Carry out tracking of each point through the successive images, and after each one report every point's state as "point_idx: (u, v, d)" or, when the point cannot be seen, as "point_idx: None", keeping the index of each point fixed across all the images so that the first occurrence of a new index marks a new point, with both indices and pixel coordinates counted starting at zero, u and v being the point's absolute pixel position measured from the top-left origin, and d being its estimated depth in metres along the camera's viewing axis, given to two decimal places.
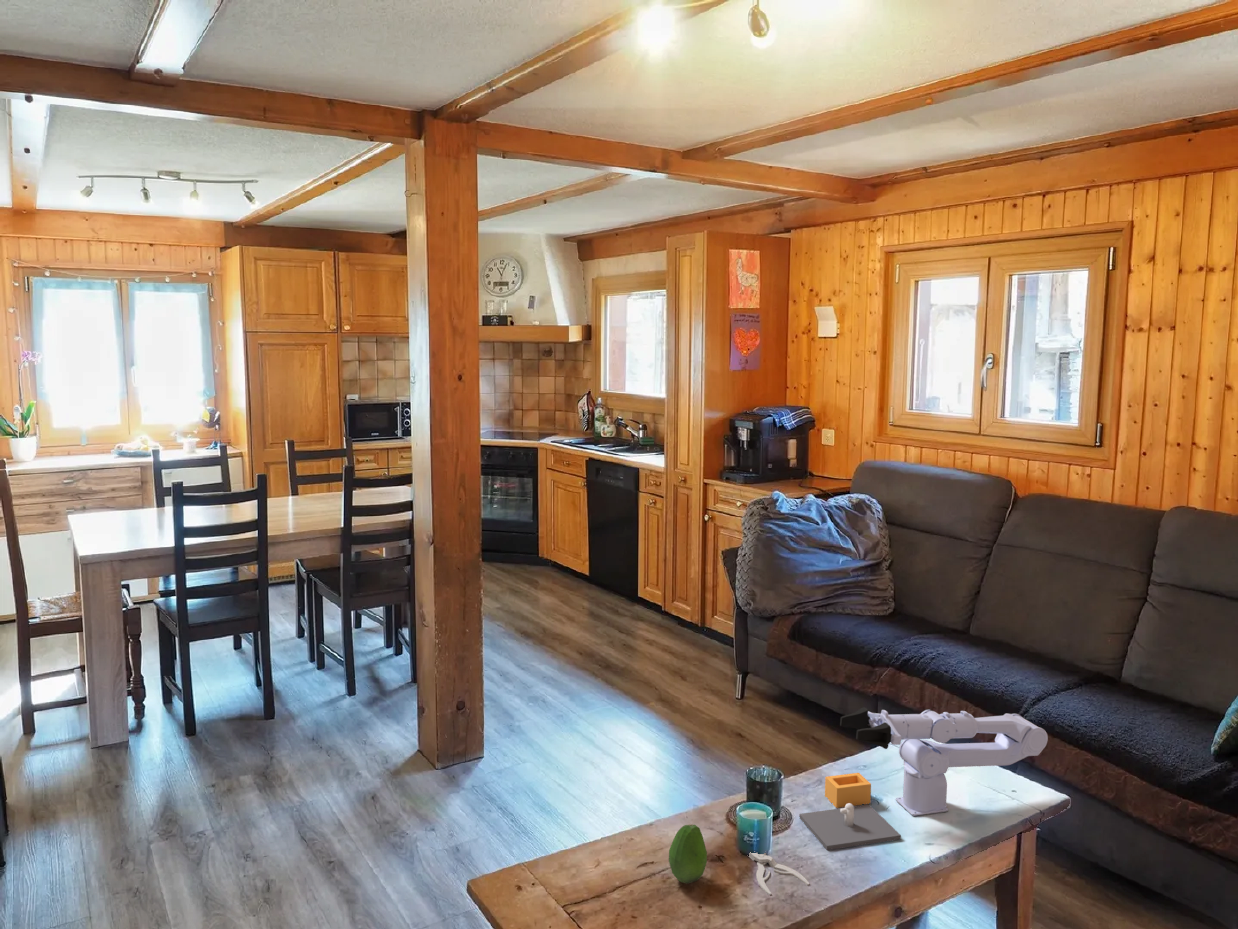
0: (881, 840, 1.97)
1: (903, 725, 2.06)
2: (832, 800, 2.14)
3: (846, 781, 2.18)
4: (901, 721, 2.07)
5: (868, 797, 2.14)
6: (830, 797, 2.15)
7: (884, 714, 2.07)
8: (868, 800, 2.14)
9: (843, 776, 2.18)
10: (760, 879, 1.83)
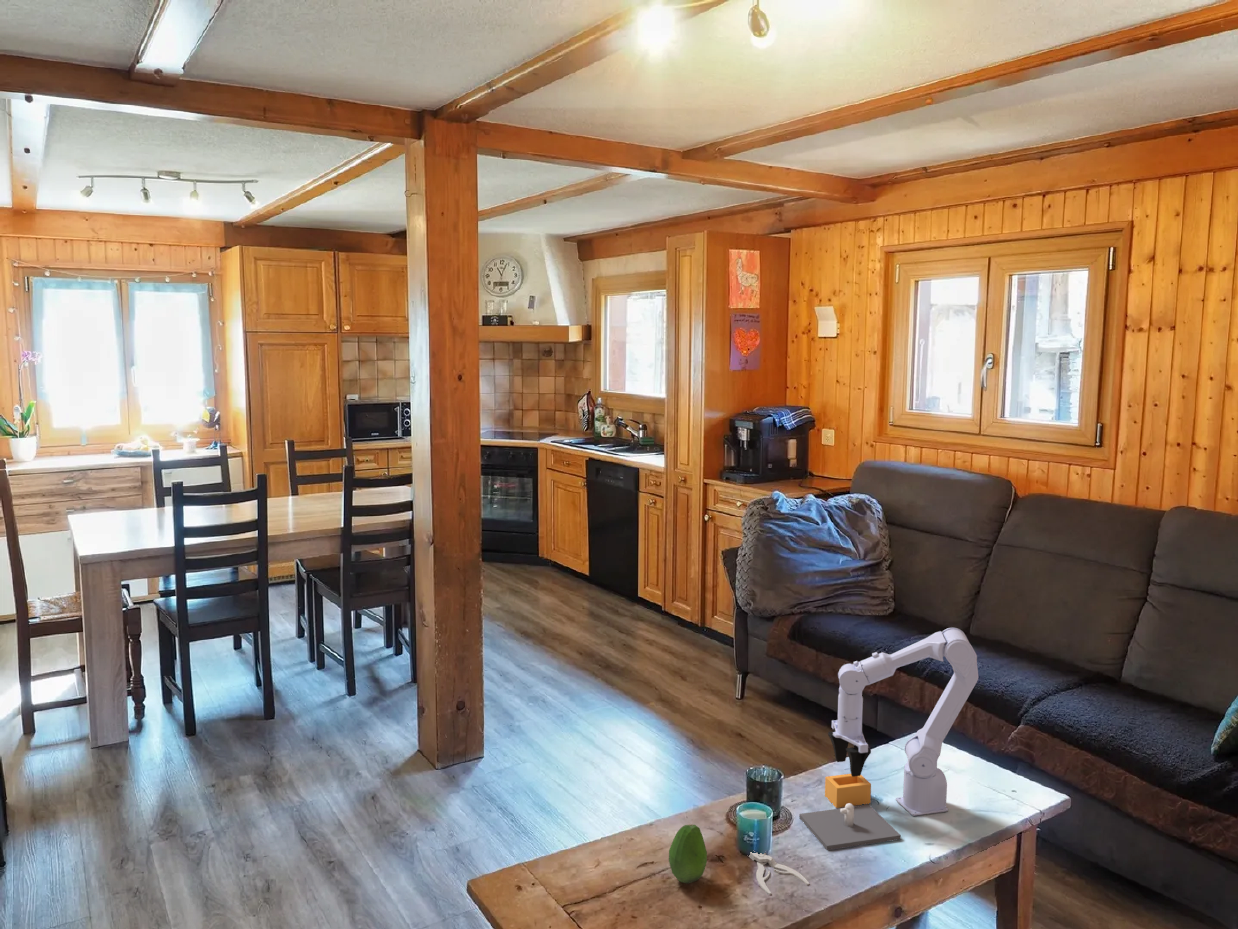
0: (881, 840, 1.97)
1: (849, 723, 2.11)
2: (832, 800, 2.14)
3: (846, 781, 2.18)
4: (845, 724, 2.11)
5: (868, 797, 2.14)
6: (830, 797, 2.15)
7: None
8: (868, 800, 2.14)
9: (843, 776, 2.18)
10: (760, 879, 1.83)
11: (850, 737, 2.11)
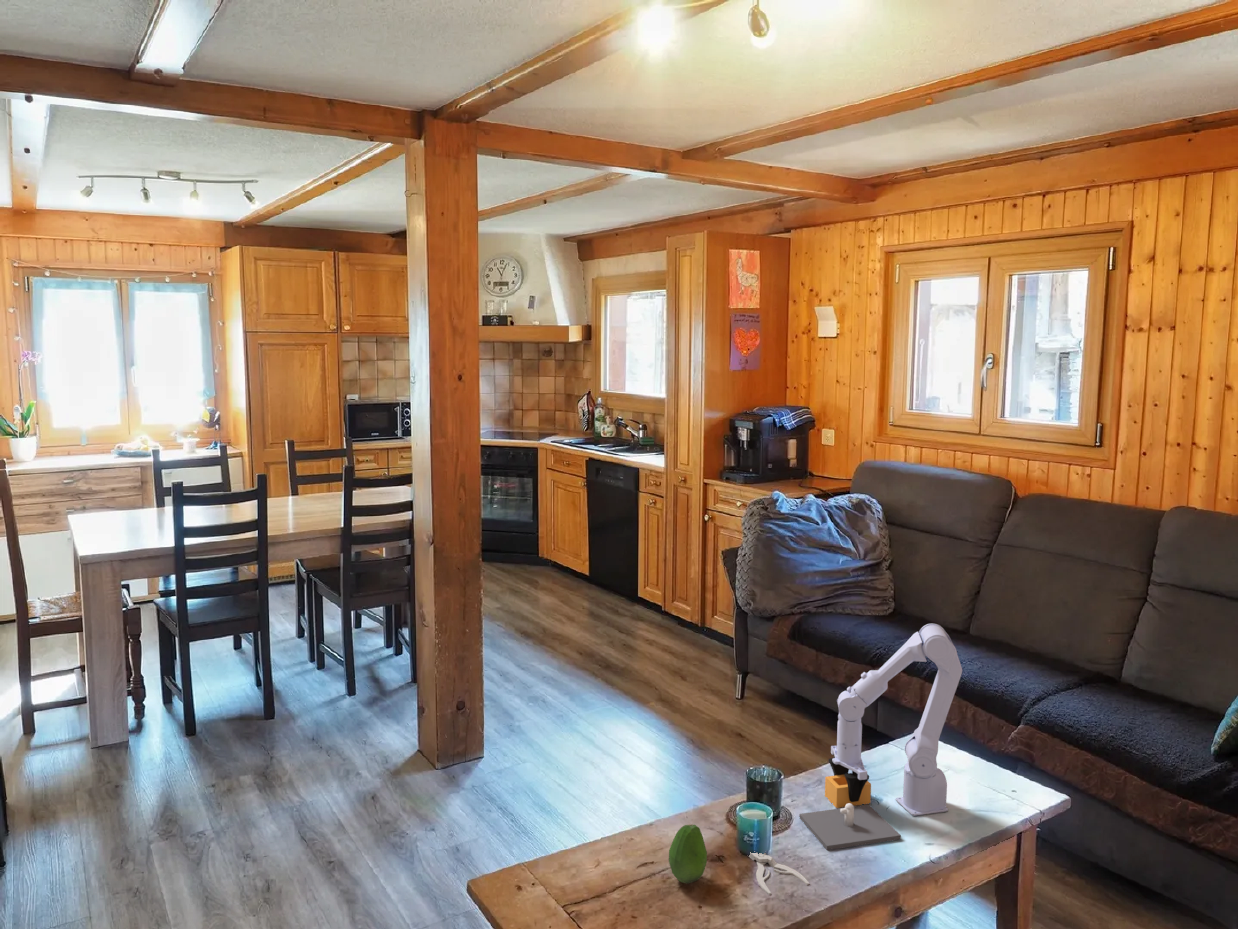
0: (881, 840, 1.97)
1: (848, 750, 2.12)
2: (832, 800, 2.14)
3: (846, 781, 2.18)
4: (844, 750, 2.12)
5: (868, 797, 2.14)
6: (830, 797, 2.15)
7: None
8: (868, 800, 2.14)
9: (843, 776, 2.18)
10: (760, 879, 1.83)
11: (849, 764, 2.12)
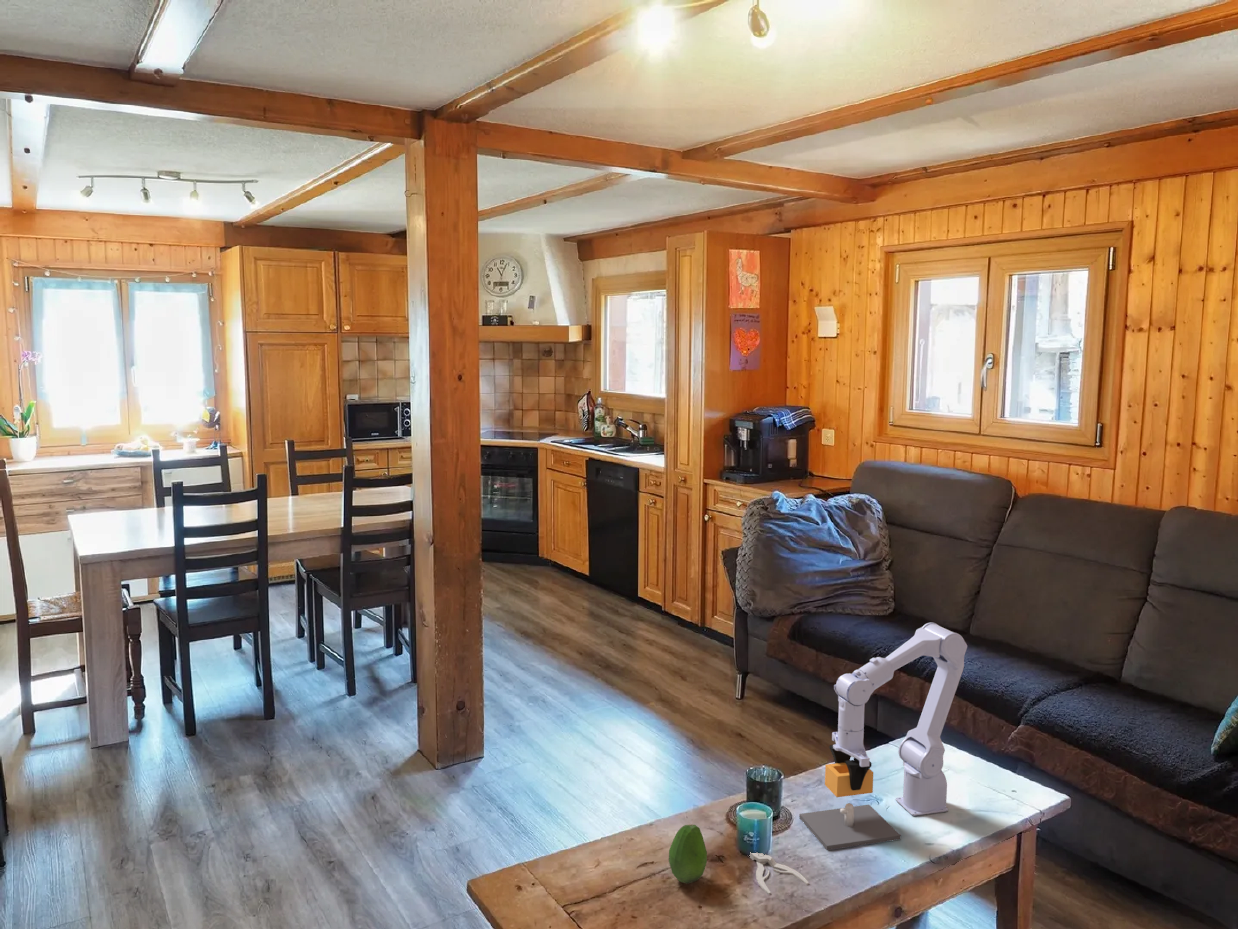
0: (881, 840, 1.97)
1: (849, 736, 2.02)
2: (832, 789, 2.04)
3: (847, 769, 2.08)
4: (846, 736, 2.02)
5: (870, 786, 2.04)
6: (830, 785, 2.05)
7: None
8: (870, 789, 2.04)
9: (844, 764, 2.08)
10: (759, 878, 1.83)
11: (851, 750, 2.02)
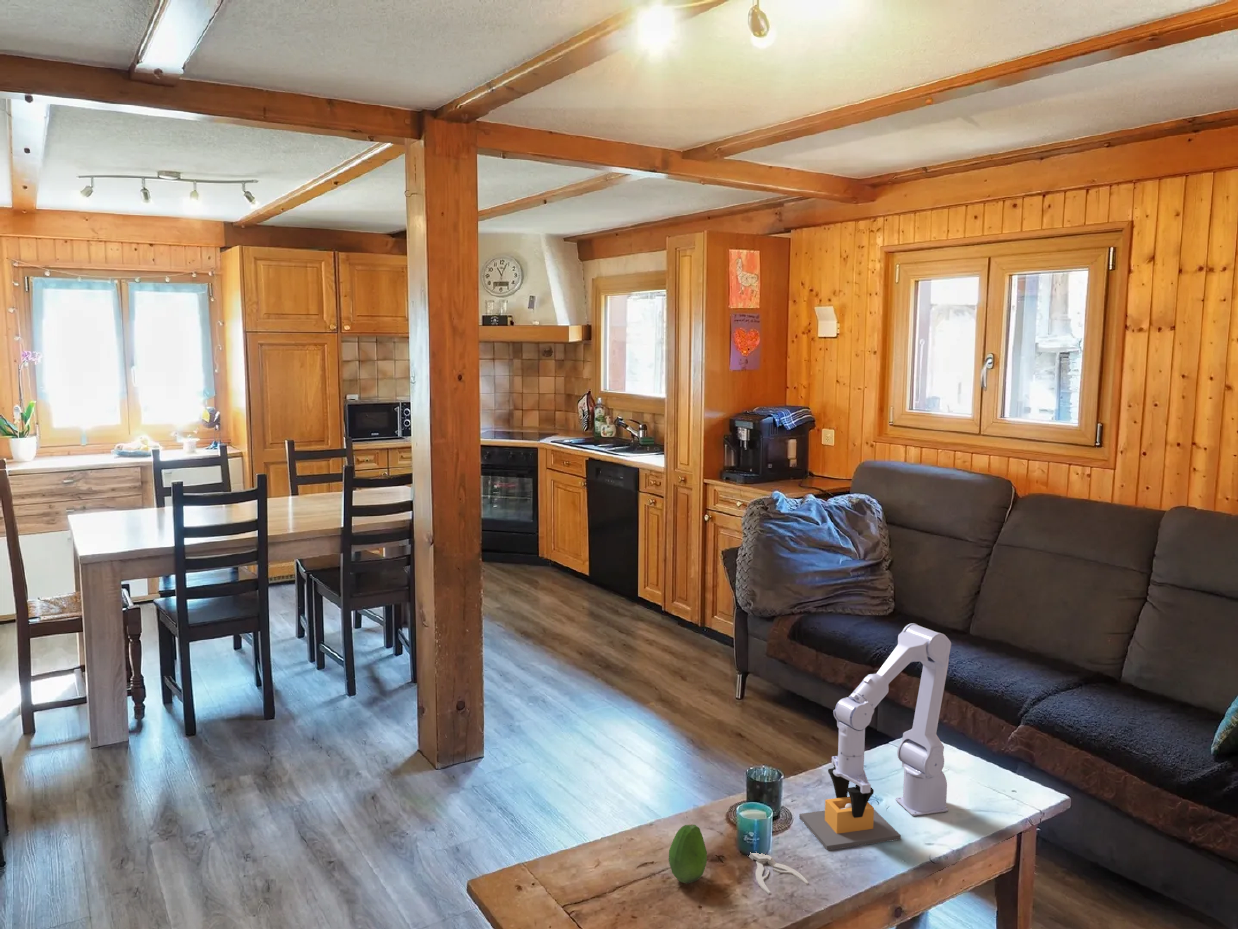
0: (881, 840, 1.97)
1: (850, 761, 1.98)
2: (832, 825, 2.01)
3: None
4: (846, 762, 1.99)
5: (871, 822, 2.01)
6: (830, 821, 2.02)
7: None
8: (871, 824, 2.01)
9: (844, 799, 2.05)
10: (759, 878, 1.84)
11: (851, 776, 1.99)
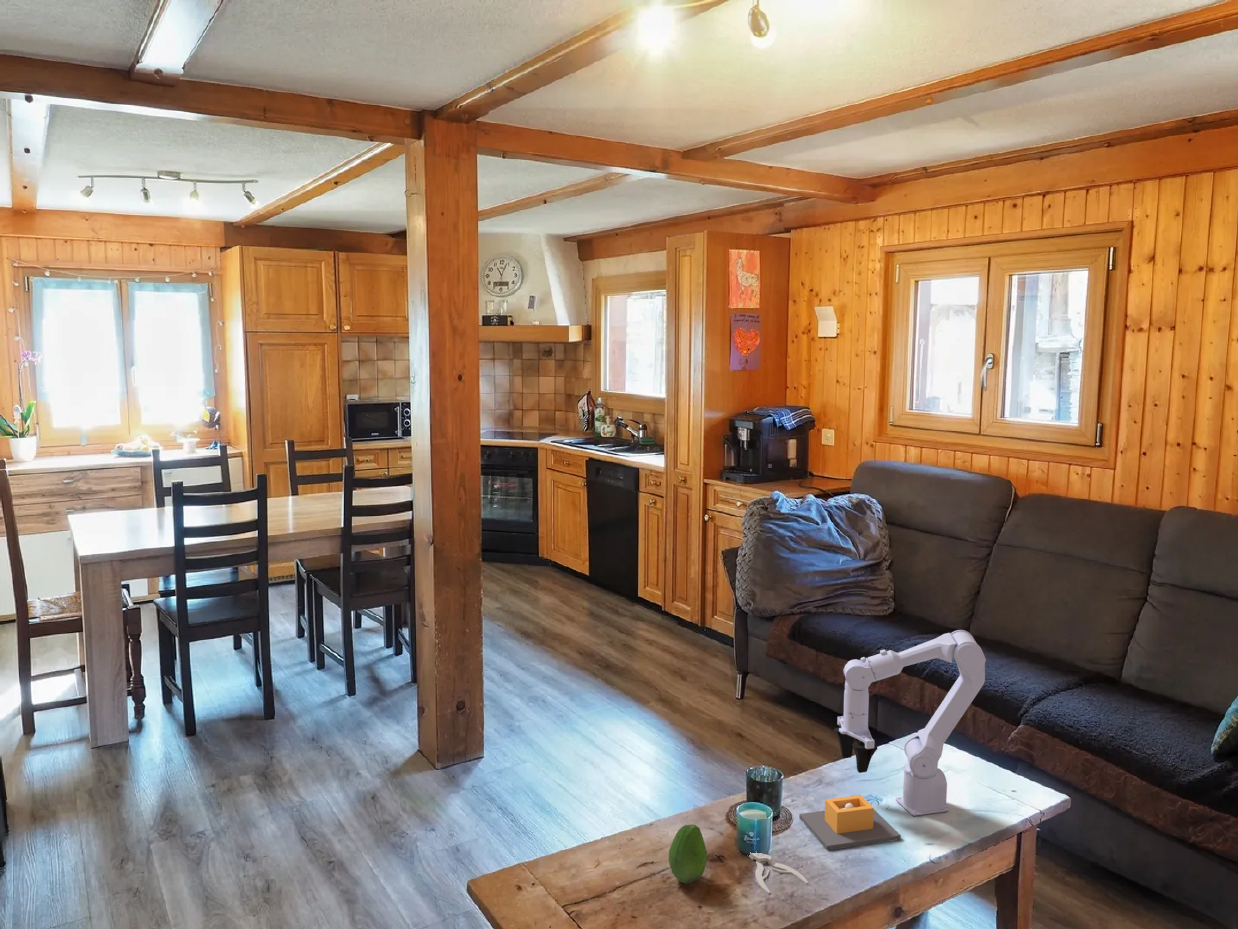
0: (881, 840, 1.97)
1: (855, 719, 2.10)
2: (832, 825, 2.01)
3: None
4: (851, 720, 2.10)
5: (871, 822, 2.01)
6: (830, 821, 2.02)
7: None
8: (871, 824, 2.01)
9: (844, 799, 2.05)
10: (759, 878, 1.84)
11: (856, 733, 2.10)
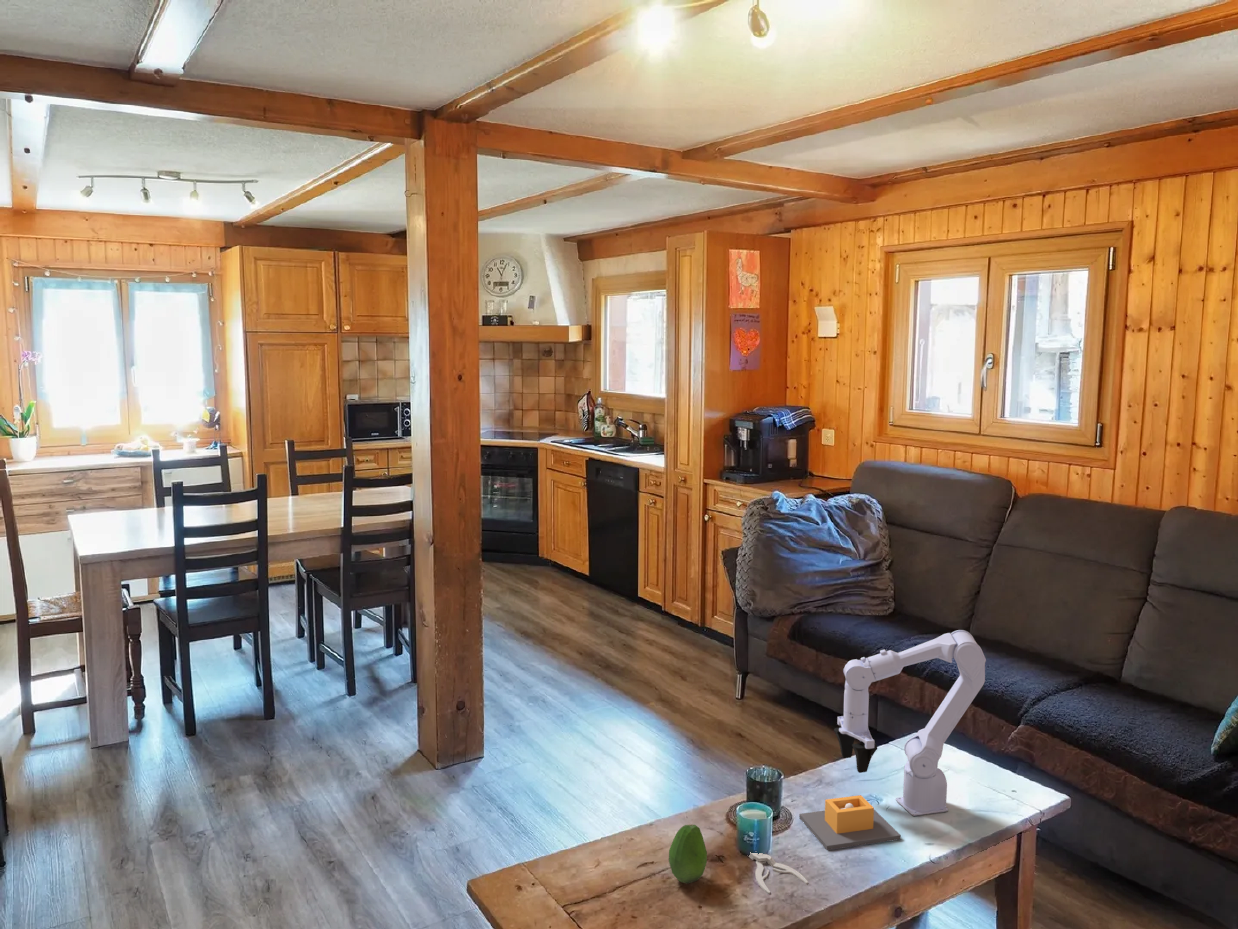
0: (881, 840, 1.97)
1: (855, 719, 2.10)
2: (832, 825, 2.01)
3: None
4: (851, 720, 2.10)
5: (871, 822, 2.01)
6: (830, 821, 2.02)
7: None
8: (871, 824, 2.01)
9: (844, 799, 2.05)
10: (759, 878, 1.84)
11: (856, 733, 2.10)
